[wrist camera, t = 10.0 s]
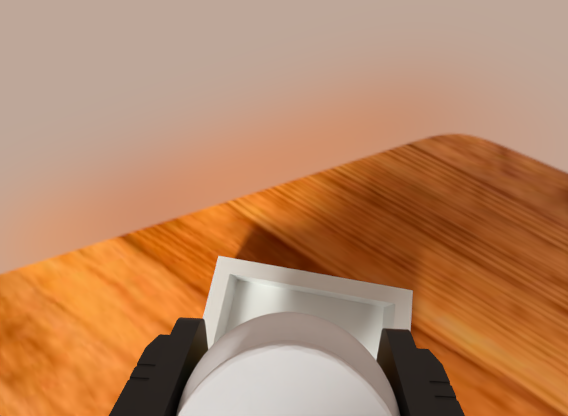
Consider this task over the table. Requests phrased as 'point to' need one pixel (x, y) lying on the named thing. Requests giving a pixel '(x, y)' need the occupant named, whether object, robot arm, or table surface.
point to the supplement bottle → (287, 372)
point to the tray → (303, 300)
